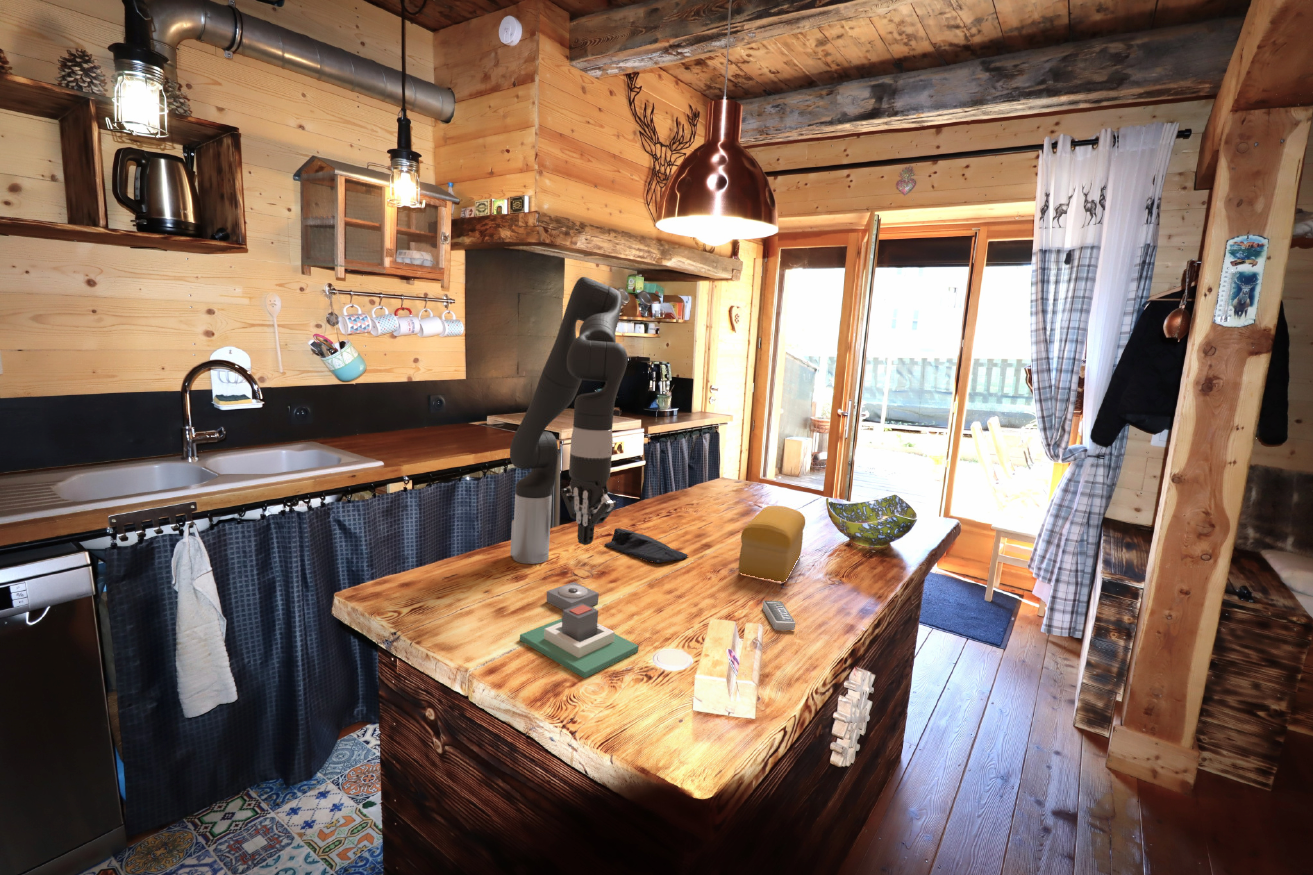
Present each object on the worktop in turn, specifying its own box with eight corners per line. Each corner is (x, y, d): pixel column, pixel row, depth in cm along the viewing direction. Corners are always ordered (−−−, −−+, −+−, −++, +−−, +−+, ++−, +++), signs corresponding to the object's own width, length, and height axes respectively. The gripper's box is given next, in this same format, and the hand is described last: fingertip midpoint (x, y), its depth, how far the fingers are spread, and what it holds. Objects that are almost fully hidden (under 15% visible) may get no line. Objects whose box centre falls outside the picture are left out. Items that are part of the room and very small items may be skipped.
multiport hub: (774, 631, 132) (776, 621, 132) (761, 609, 143) (762, 599, 143) (794, 632, 133) (796, 622, 132) (780, 610, 143) (781, 600, 143)
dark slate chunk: (653, 570, 161) (655, 553, 161) (599, 545, 177) (601, 529, 176) (693, 559, 172) (694, 542, 171) (639, 536, 187) (640, 521, 187)
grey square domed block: (546, 601, 137) (547, 588, 136) (573, 592, 143) (574, 579, 143) (571, 614, 132) (571, 600, 131) (597, 603, 138) (598, 590, 138)
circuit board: (519, 640, 119) (520, 624, 119) (573, 618, 130) (574, 604, 129) (584, 678, 108) (585, 661, 107) (638, 651, 119) (639, 635, 118)
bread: (757, 548, 185) (763, 499, 182) (801, 557, 180) (807, 507, 178) (736, 574, 162) (742, 519, 160) (785, 585, 158) (792, 529, 155)
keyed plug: (561, 639, 118) (562, 609, 117) (583, 630, 123) (585, 600, 122) (577, 648, 116) (579, 617, 115) (599, 638, 120) (601, 608, 119)
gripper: (631, 457, 112) (624, 549, 114) (581, 444, 120) (575, 530, 123) (602, 461, 106) (595, 558, 109) (551, 447, 114) (546, 537, 117)
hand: (584, 543), depth 116 cm, fingers closed
